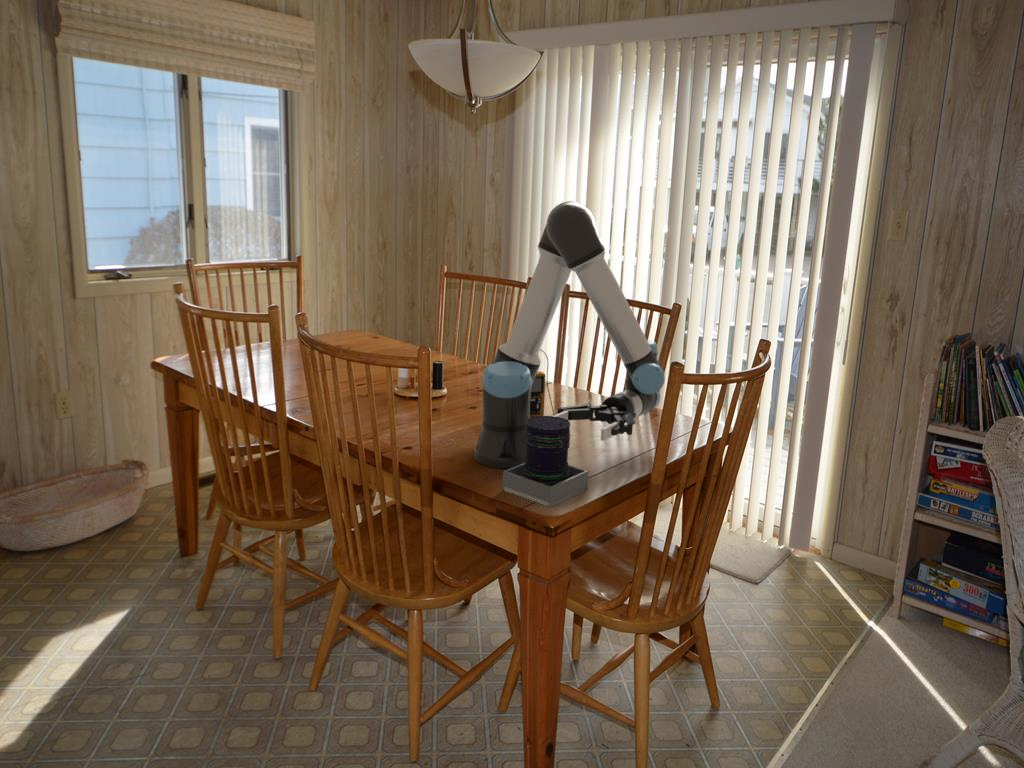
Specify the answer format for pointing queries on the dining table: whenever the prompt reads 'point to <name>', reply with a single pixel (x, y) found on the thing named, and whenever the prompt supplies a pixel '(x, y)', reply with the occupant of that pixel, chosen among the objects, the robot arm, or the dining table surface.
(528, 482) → the cradle tray
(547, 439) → the dark blue ribbed cylinder
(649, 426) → the dining table surface
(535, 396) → the multimeter
